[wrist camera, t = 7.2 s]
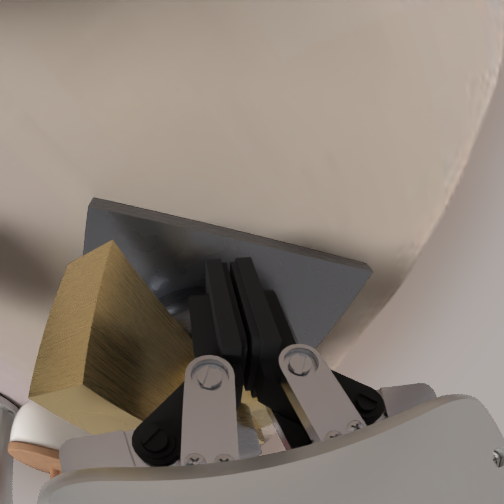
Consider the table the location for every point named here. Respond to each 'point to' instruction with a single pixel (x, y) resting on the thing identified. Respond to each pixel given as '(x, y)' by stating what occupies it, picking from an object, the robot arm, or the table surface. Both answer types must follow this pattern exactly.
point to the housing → (227, 249)
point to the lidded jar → (40, 438)
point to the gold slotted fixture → (118, 352)
